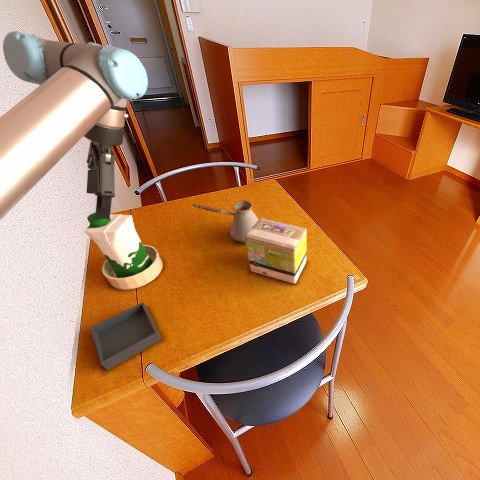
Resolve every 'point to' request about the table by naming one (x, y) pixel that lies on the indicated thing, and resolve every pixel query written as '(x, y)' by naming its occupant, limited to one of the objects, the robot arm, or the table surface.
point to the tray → (124, 335)
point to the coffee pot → (238, 218)
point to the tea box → (277, 249)
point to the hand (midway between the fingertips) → (97, 205)
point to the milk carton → (119, 244)
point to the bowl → (139, 278)
